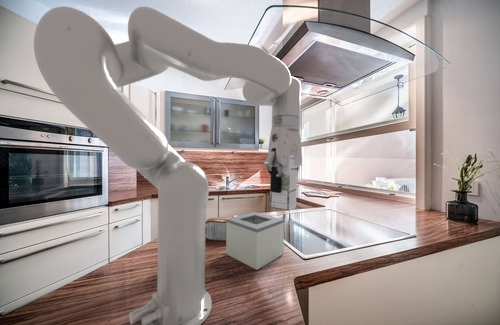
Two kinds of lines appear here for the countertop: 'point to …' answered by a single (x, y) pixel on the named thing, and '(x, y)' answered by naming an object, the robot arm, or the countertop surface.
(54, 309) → the countertop surface
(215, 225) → the tin
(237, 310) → the countertop surface
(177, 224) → the robot arm
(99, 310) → the countertop surface
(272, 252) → the post box
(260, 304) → the countertop surface
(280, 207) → the syrup box
